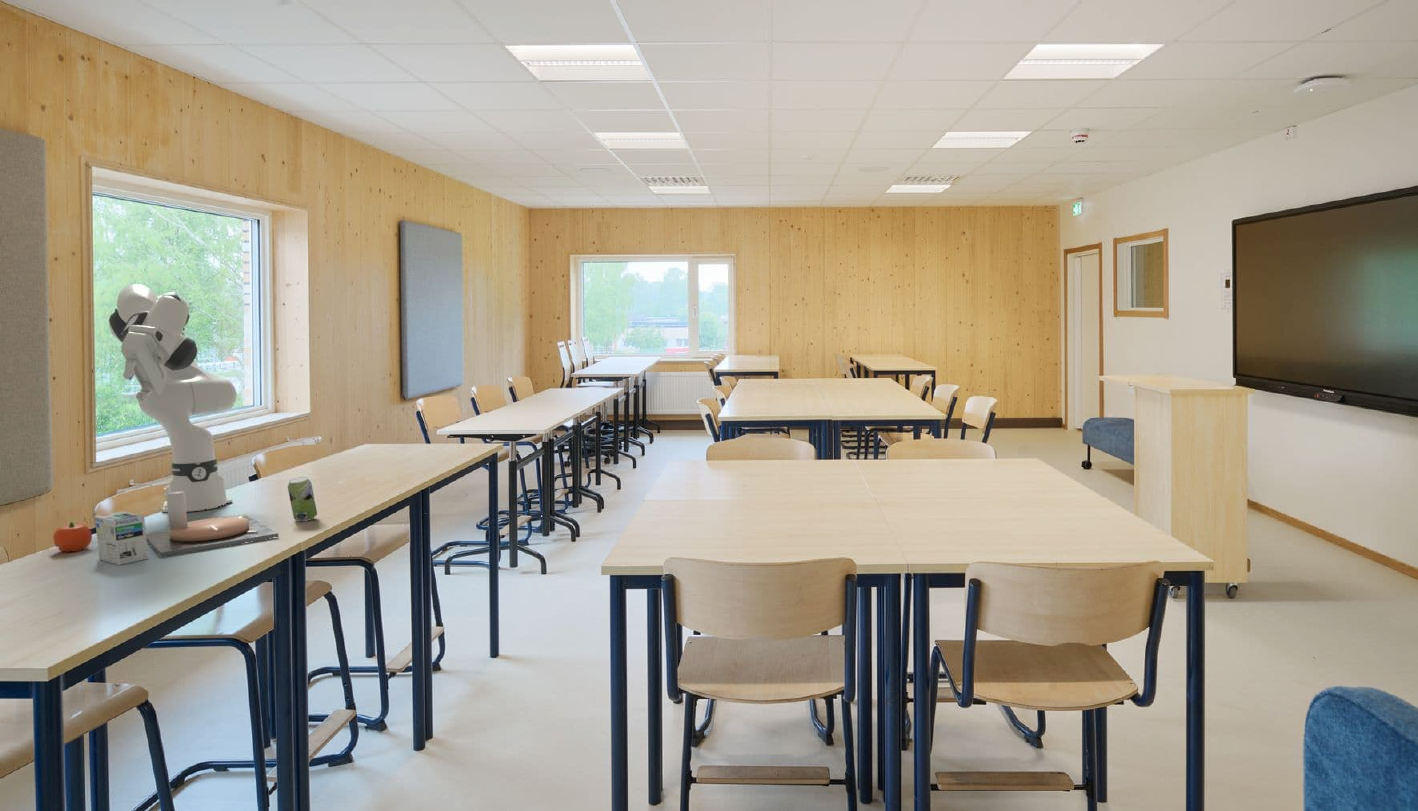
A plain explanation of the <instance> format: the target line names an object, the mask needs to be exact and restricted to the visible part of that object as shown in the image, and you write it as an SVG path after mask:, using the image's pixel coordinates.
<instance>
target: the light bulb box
mask: <svg viewBox="0 0 1418 811" xmlns="http://www.w3.org/2000/svg"><path fill="white" fill-rule="evenodd" d="M94 522H95V528H96V529H95V531H96V538H97V540H96V541H97V548H98V558H99V559H100V560H101V561H104V562H108V563H111V564H114V565H118V566H120V565H125V564H129V563H135V562H138V561H145V560H148V559H149V551H148V543H147V540H146V534H147V533H146V522H145V515H144V514H139V513H133V512H129V511H125V510H123V511H122V510H120V511H116V512H110V513H103V514H97V515H94Z"/></svg>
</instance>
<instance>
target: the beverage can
mask: <svg viewBox="0 0 1418 811" xmlns="http://www.w3.org/2000/svg"><path fill="white" fill-rule="evenodd" d="M312 484H313V483H312V481H311V480H310V479H309V477H306V476H301V477H300V476H299V477H294V478H292V479H290V480H289V481H288V485H287V491H288V496H289V500H290V501H289V502H290V506H291V511H292V515H293V519H294V521H295V520H296V521H297V520H299V521H298V522H306V521H305V520H308V521H311V520H313V519H315V517H316V516H317V515H318V511H317V505H316V501H315V494H314V490H313V485H312ZM310 519H311V520H310Z"/></svg>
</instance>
